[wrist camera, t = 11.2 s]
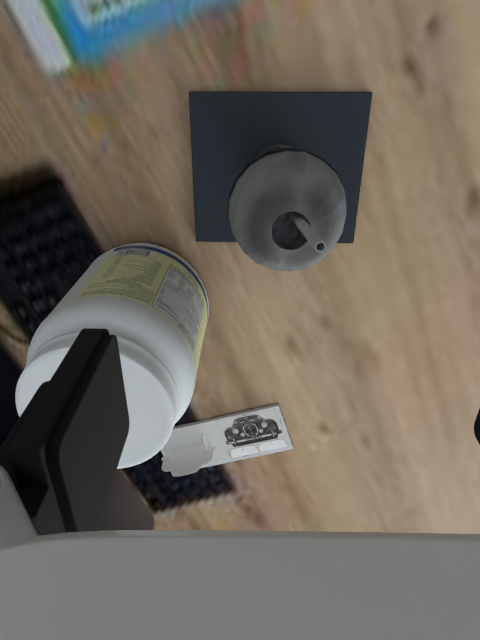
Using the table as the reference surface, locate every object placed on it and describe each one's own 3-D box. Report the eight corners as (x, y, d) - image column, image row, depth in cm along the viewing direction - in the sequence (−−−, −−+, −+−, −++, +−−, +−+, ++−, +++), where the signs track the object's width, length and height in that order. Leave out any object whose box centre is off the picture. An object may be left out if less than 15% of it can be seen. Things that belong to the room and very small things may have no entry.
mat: (196, 239, 41) (196, 241, 41) (189, 91, 35) (189, 91, 35) (352, 241, 41) (353, 243, 40) (370, 92, 35) (372, 92, 35)
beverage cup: (216, 166, 38) (182, 252, 20) (286, 104, 35) (318, 140, 18) (270, 232, 40) (282, 359, 23) (339, 179, 38) (413, 274, 20)
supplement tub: (142, 370, 48) (93, 502, 34) (58, 284, 44) (-42, 394, 29) (235, 312, 45) (226, 433, 30) (154, 211, 40) (95, 295, 25)
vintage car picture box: (173, 470, 56) (167, 501, 52) (152, 431, 53) (144, 460, 49) (293, 446, 53) (296, 476, 49) (278, 403, 50) (280, 431, 46)
